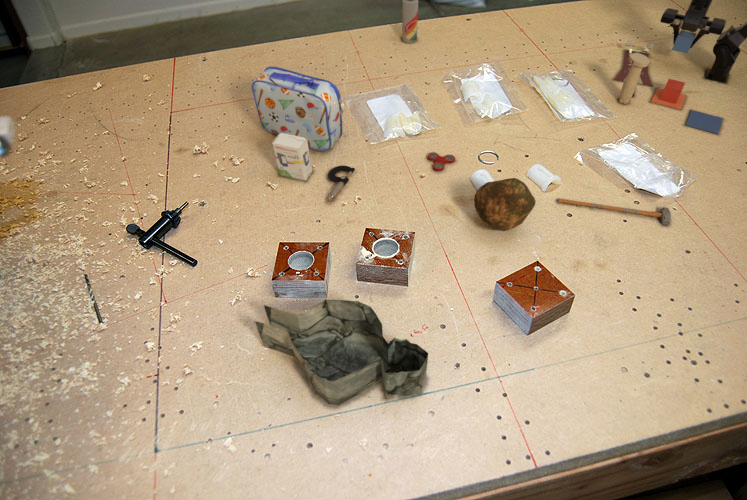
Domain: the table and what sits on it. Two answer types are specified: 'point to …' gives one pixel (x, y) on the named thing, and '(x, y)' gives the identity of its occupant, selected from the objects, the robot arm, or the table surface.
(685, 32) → the blue block
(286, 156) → the ink box
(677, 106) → the orange square mat
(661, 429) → the table surface
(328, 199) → the micrometer
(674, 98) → the red block
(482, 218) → the rock
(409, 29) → the spray bottle
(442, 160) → the fidget spinner
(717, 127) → the blue mat
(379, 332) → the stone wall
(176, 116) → the table surface
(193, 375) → the table surface
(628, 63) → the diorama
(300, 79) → the lunch box
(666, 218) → the sledgehammer
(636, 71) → the handle
